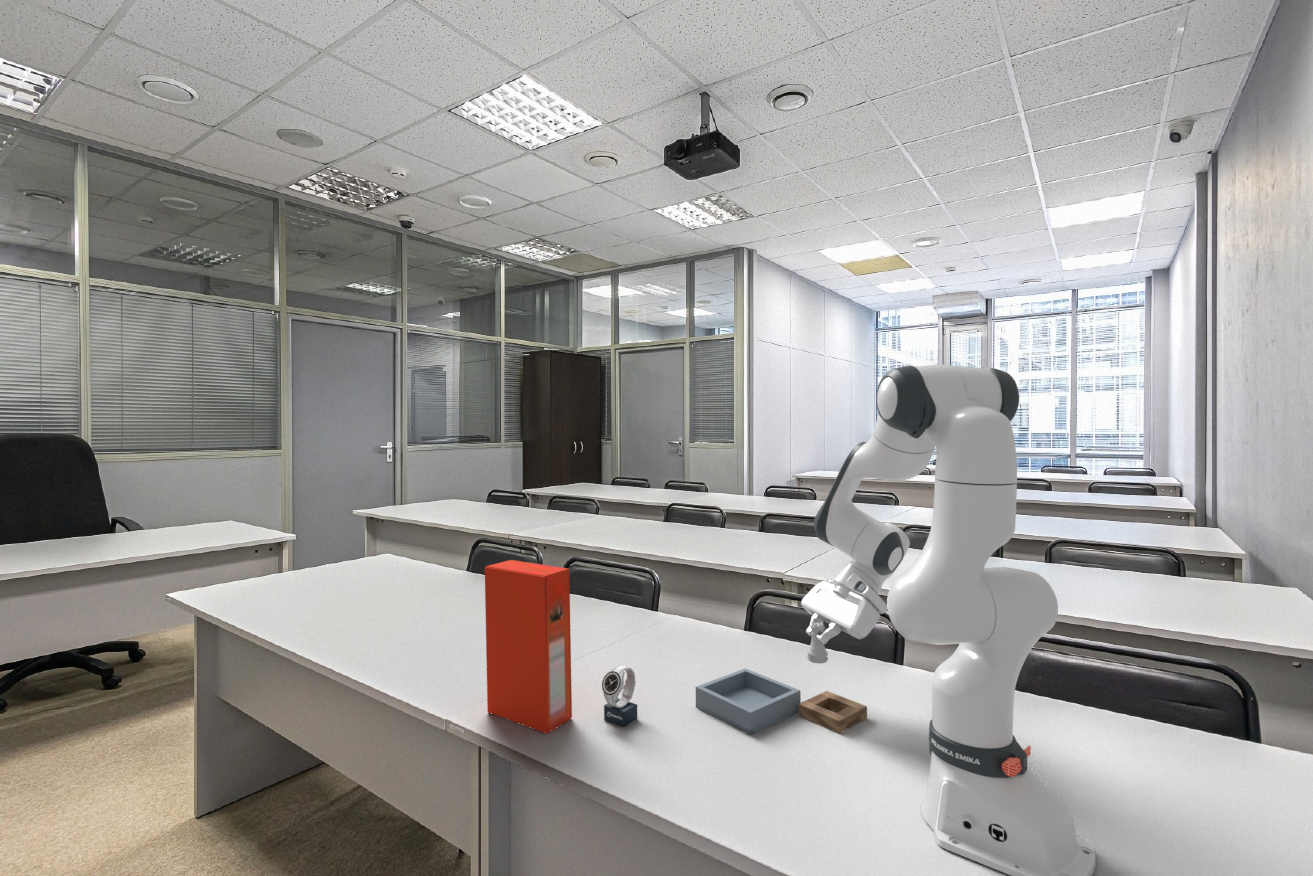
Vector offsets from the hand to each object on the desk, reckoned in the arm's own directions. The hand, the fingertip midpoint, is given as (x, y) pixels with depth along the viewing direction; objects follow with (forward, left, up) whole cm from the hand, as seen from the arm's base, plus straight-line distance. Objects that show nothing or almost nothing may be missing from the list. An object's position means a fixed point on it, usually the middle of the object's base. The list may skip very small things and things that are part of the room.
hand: (814, 638), depth 128 cm
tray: (+11, +9, -16) cm, 22 cm away
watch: (+25, +33, -17) cm, 45 cm away
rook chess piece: (0, -1, -5) cm, 5 cm away
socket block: (-3, -2, -16) cm, 17 cm away
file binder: (+39, +47, -17) cm, 63 cm away
